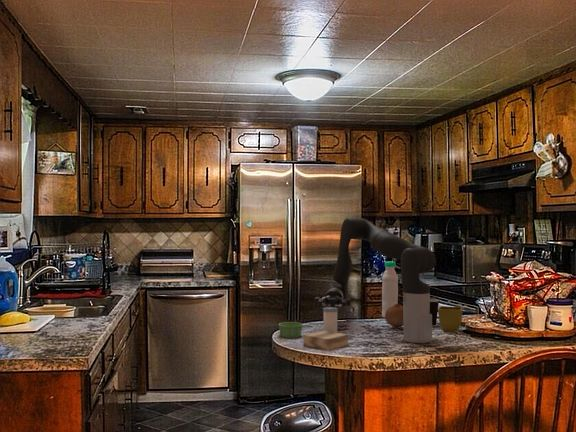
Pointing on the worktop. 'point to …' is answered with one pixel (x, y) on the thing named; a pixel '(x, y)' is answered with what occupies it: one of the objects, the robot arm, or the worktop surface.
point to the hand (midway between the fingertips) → (331, 304)
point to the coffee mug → (434, 310)
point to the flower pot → (450, 318)
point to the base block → (325, 340)
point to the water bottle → (389, 287)
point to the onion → (395, 315)
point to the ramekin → (290, 329)
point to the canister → (330, 319)
